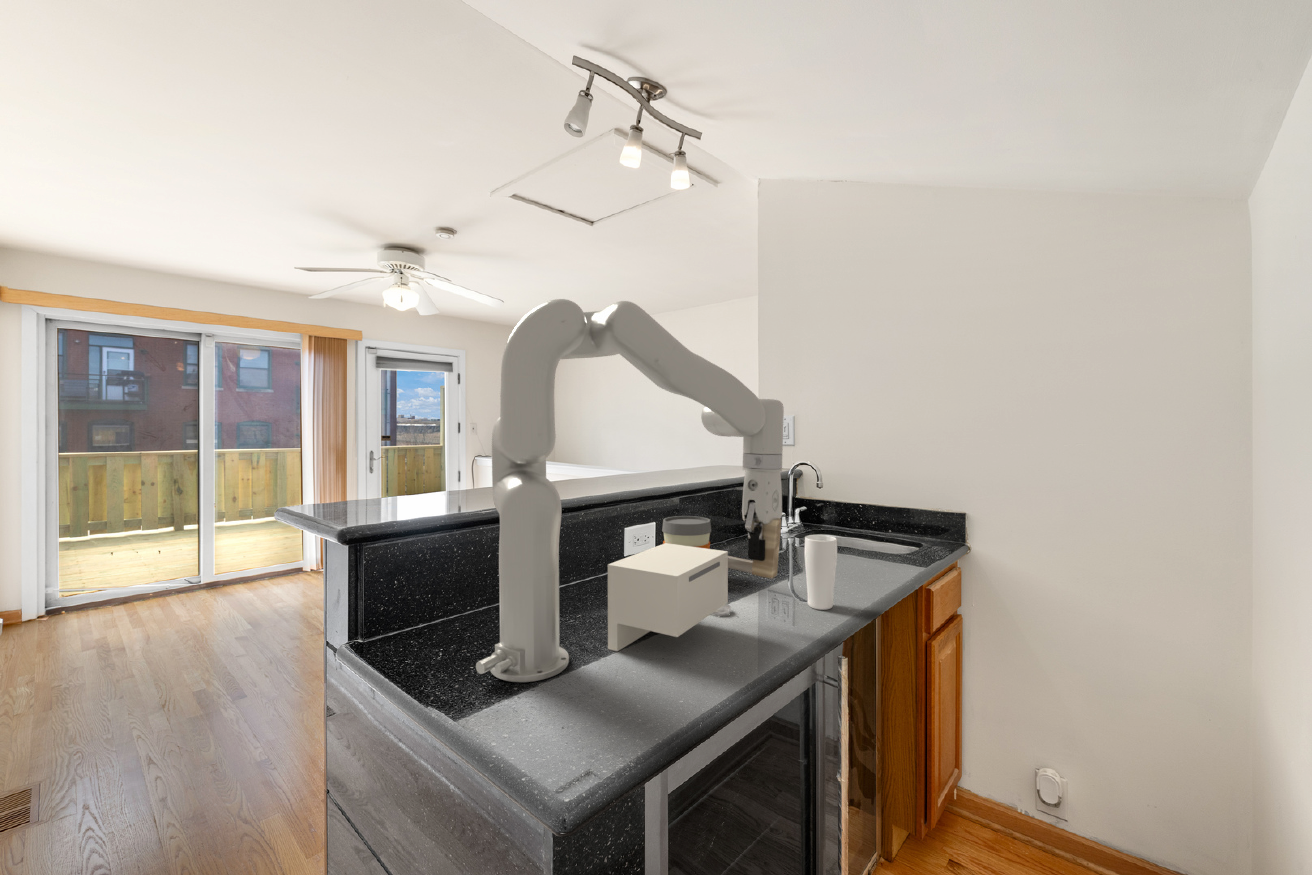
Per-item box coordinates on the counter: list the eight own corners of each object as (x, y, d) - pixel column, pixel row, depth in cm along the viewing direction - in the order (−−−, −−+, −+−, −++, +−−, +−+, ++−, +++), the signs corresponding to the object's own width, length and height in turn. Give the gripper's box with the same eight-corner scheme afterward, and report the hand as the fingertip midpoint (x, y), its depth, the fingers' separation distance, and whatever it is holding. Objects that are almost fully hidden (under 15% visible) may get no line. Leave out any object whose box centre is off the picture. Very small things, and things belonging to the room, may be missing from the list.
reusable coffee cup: (697, 588, 132) (697, 526, 132) (652, 580, 139) (652, 521, 139) (719, 575, 143) (719, 518, 143) (677, 569, 150) (677, 514, 149)
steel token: (722, 619, 112) (723, 612, 112) (702, 614, 115) (702, 607, 115) (734, 612, 116) (734, 605, 116) (714, 607, 119) (714, 601, 119)
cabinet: (678, 667, 90) (678, 576, 89) (607, 648, 97) (607, 564, 97) (728, 628, 107) (728, 551, 106) (665, 614, 114) (665, 543, 114)
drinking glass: (808, 599, 124) (809, 533, 124) (839, 604, 121) (840, 536, 120) (800, 608, 118) (800, 538, 118) (832, 614, 115) (833, 542, 114)
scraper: (771, 578, 104) (776, 521, 104) (687, 560, 113) (691, 507, 113) (777, 575, 107) (781, 519, 106) (694, 557, 116) (698, 505, 115)
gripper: (766, 466, 98) (763, 569, 98) (794, 462, 111) (791, 552, 112) (727, 464, 101) (724, 563, 102) (759, 460, 115) (756, 547, 116)
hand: (759, 556), depth 107 cm, fingers closed on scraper, 3 cm apart
